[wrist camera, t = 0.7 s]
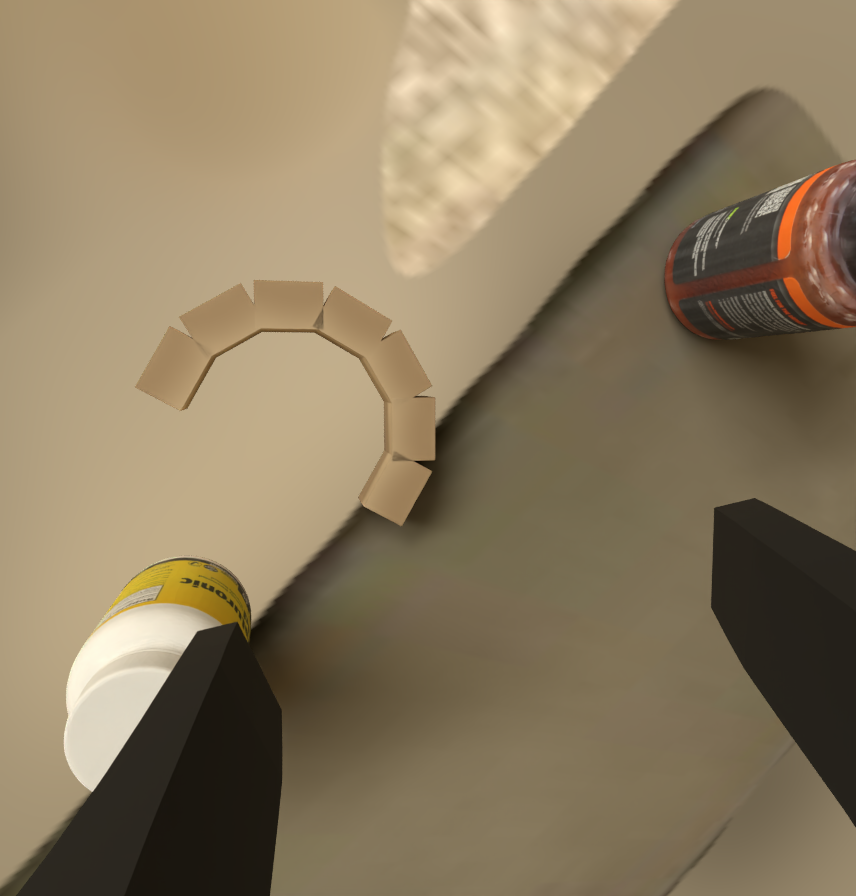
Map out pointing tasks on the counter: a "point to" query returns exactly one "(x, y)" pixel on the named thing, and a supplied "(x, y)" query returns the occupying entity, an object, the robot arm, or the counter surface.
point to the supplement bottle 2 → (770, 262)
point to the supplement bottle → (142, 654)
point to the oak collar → (339, 322)
